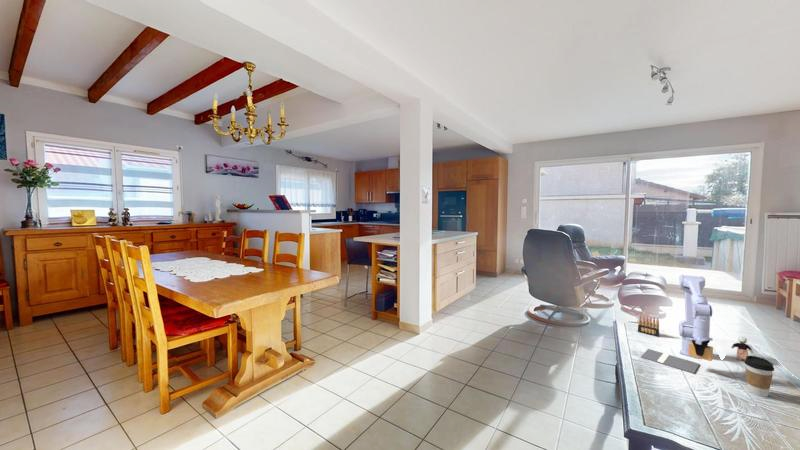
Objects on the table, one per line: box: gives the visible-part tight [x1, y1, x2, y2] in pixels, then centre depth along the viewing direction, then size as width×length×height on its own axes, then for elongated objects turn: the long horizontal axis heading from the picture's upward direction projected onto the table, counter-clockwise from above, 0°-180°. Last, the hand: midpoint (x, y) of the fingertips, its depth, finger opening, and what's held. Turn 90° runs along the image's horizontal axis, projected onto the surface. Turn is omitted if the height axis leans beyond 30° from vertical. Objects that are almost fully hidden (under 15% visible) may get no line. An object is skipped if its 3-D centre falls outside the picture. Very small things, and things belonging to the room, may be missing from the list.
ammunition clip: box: [637, 314, 660, 338], centre depth 192 cm, size 11×2×12 cm, turn 38°
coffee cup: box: [743, 355, 775, 398], centre depth 130 cm, size 8×8×15 cm
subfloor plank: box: [640, 348, 700, 375], centre depth 158 cm, size 14×21×1 cm, turn 37°
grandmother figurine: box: [730, 336, 754, 362], centre depth 158 cm, size 8×4×13 cm, turn 54°
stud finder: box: [689, 342, 714, 362], centre depth 148 cm, size 4×8×6 cm, turn 37°
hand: (700, 354), depth 149 cm, fingers closed on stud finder, 4 cm apart
